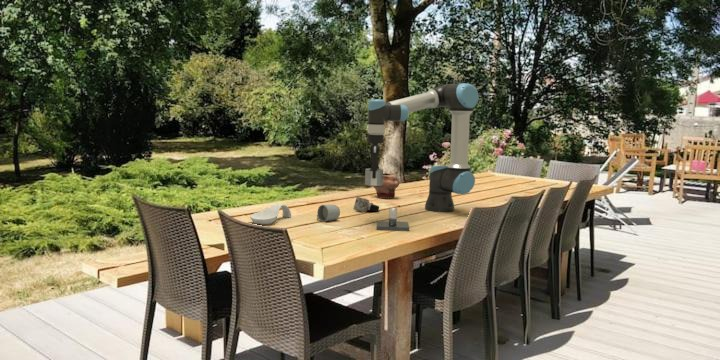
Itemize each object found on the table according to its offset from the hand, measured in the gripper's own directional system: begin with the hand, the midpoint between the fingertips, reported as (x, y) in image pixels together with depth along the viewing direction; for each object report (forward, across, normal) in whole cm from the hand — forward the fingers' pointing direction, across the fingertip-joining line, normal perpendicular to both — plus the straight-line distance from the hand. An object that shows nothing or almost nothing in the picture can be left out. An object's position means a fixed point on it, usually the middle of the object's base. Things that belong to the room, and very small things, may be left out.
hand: (373, 184), depth 258 cm
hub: (0, 0, 0) cm, 0 cm away
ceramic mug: (+18, +2, -21) cm, 28 cm away
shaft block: (+17, +12, +9) cm, 23 cm away
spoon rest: (+18, +9, -45) cm, 49 cm away
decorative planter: (+18, -70, +4) cm, 72 cm away
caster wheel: (+18, -25, -4) cm, 31 cm away
